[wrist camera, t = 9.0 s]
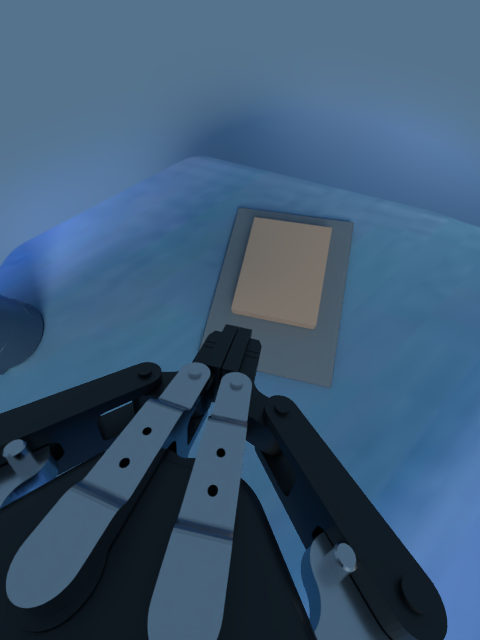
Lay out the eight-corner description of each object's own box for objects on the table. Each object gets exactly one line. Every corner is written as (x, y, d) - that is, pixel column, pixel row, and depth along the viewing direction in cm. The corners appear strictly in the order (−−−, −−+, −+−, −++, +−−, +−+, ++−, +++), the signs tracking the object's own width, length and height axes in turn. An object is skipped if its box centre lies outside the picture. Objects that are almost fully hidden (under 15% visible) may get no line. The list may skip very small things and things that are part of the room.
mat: (328, 387, 28) (330, 387, 27) (199, 357, 30) (197, 356, 29) (351, 226, 33) (353, 222, 32) (239, 211, 35) (238, 207, 34)
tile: (316, 325, 27) (332, 227, 30) (230, 308, 28) (254, 217, 31) (312, 329, 29) (328, 237, 32) (233, 313, 30) (255, 226, 33)
